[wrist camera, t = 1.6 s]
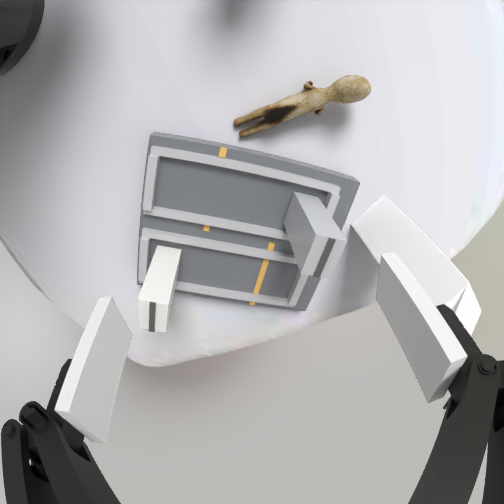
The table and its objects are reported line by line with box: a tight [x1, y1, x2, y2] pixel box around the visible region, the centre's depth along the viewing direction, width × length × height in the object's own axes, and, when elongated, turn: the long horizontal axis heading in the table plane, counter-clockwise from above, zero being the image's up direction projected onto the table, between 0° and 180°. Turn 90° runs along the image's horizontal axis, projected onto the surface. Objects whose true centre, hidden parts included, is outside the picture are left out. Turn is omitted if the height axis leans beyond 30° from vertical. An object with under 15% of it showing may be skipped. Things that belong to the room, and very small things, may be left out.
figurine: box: [234, 75, 371, 137], centre depth 28 cm, size 4×4×15 cm
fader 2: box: [284, 191, 347, 279], centre depth 30 cm, size 3×4×10 cm
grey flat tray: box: [137, 132, 360, 311], centre depth 36 cm, size 24×20×3 cm
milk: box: [351, 195, 481, 336], centre depth 29 cm, size 6×6×22 cm
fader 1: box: [138, 245, 182, 333], centre depth 32 cm, size 3×4×10 cm
